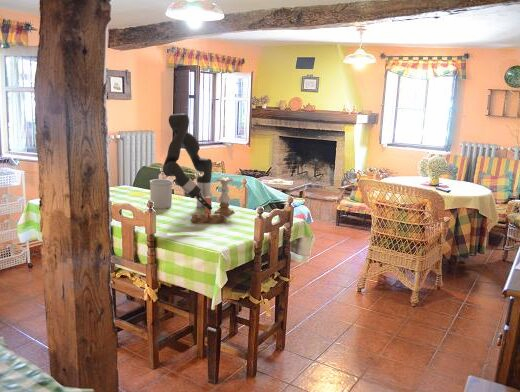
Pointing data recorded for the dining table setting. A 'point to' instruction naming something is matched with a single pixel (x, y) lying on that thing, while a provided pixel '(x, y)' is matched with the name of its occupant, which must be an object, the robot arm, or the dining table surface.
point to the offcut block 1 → (202, 215)
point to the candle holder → (224, 198)
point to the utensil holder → (161, 193)
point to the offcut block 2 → (214, 215)
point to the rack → (207, 220)
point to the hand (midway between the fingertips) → (210, 207)
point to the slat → (209, 204)
